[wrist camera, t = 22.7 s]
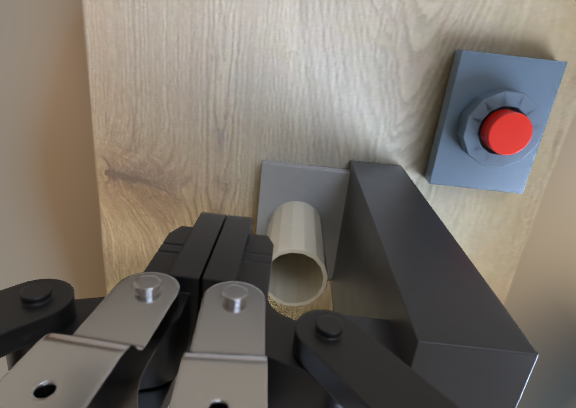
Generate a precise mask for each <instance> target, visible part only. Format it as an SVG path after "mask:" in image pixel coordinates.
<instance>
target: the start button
mask: <svg viewBox="0 0 576 408" xmlns="http://www.w3.org/2000/svg"><path fill="white" fill-rule="evenodd" d="M532 133H533V127H532V123H531V121H530V120H529V118H528V117H527V116H525V115H524V114H521V113H519V112H516V111H513V110H510V109H501V110H498V111H495V112H494V113H492V114H491V115H489V116H488V117H487V118H486V119H485V121H484V122H483V124H482V127H481V132H480V134H481V139H482V142H483V143H484V145H485V146H486V147H488V148H489V149H491V150H493V151H494V152H496V153H498V154H500V155H512V154H515V153H517V152H519V151H521V150H522V149H524V148H525V147H526V146H527V144H528V143H529V141H530V140H531V137H532Z"/></svg>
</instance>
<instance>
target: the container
mask: <svg viewBox="0 0 576 408" xmlns="http://www.w3.org/2000/svg"><path fill="white" fill-rule="evenodd" d="M267 236H268V237H269V238H270V240H271V241H272V243H273V244H274V248H273V257H272V266H271V276H270V285H269V293H268V296H269V297H270V298H271V299H272V300H273V301H275V302H278V303H280V304H282V305H284V306H293V307H298V306H303V305H307V304H310V303H312V302H313V301H315V300H316V299H318V298H319V297H320V296H321V294H322V293H323V292H324V290H325V289H326V286H327V279H328V272H327V263H326V253H325V243H324V233H323V225H322V220H321V217H320V215H319V213H318V212H317V210H316V209H315V208H314V207H312V206H311V205H309V204H307V203H305V202H301V201H290V202H286V203H284V204H282V205H280V206H279V207H278V208H277V209H276V210H275V211H274V212H273V214H272V216H271V219H270V222H269V227H268V233H267Z"/></svg>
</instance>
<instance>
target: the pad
mask: <svg viewBox="0 0 576 408" xmlns="http://www.w3.org/2000/svg"><path fill="white" fill-rule="evenodd" d="M566 65H567V62H564V61H555V60H547V59H538V58H529V57H520V56H512V55H503V54H494V53H485V52H477V51H468V50H459V49H456V51H455V55H454V59H453V63H452V67H451V71H450V75H449V80H448V84H447V88H446V92H445V96H444V100H443V104H442V108H441V113H440V117H439V121H438V125H437V129H436V133H435V137H434V141H433V146H432V150H431V154H430V158H429V162H428V166H427V170H426V174H425V179H426V180H427V181H428V182H429V183H430V184H439V185H448V186H457V187H466V188H475V189H484V190H493V191H502V192H511V193H520V194H522V193H523V191H524V188H525V185H526V182H527V179H528V176H529V173H530V170H531V167H532V165H533V162H534V159H535V156H536V153H537V150H538V147H539V144H540V141H541V138H542V135H543V132H544V129H545V126H546V124H547V121H548V118H549V115H550V112H551V109H552V106H553V103H554V100H555V97H556V94H557V91H558V88H559V85H560V83H561V80H562V77H563V74H564V71H565V68H566ZM501 109H510V110H513V111H516V112H519V113H521V114H524V115H525V116H527V117H528V118H529V120H530V121H531V123H532V127H533V133H532V137H531V140H530V141H529V143H528V144H527V146H526V147H525V148H524V149H522V150H521V151H519V152H517V153H515V154H512V155H500V154H498V153H496V152H494V151H493V150H491V149H489V148H488V147H486V146H485V145H484V143H483V142H482V139H481V134H480V132H481V127H482V124H483V122H484V121H485V119H486V118H487V117H488V116H489V115H491V114H492V113H494V112H495V111H498V110H501Z"/></svg>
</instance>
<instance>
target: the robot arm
mask: <svg viewBox="0 0 576 408" xmlns="http://www.w3.org/2000/svg"><path fill="white" fill-rule="evenodd" d="M252 225H253V218H250V217H241V216H232V215H228V216H227V215H223V214H214V213H205V212H202V213H201V214H200V216H199V218H198V220H197V221H196V223H195V225H194V227H186V226H181V227H179V228H178V229H176V230H174V231H172V232H171V233H169V235H168V236H167V238H166V239H165V241H164V242H163V244H162V245H161V247H160V248H159V250H158V252H157V253H156V254H155V256H154V257H153V259H152V260H151V262H150V263H149V265H148V266H147V268H146V269H145V271H144V272H143V273H137V274H134V275H131V276H128V277H126V278H124V279H123V280H121V281H120V282H119V283H118V284H117V285H116V286H115V287H114V288H113V289H112V291H111V292H110V293H109V294H108V295H107V296H106V297H98V298H88V299H76V300H75V296H74V289H73V287H72V286H71V285H70V284H69V283H67V282H65V281H62V280H57V279H39V280H33V281H28V282H25V283H21V284H18V285H15V286H12V287H10V288H7V289H4V290H0V358H1V357H3V356H5V355H6V359H7V364H8V370H9V372H8V373H7V374H6V375H5V376H4V377H3V378H2V379H1V380H0V408H168V406H169V408H460V407H459V406H457V405H456V404H455V403H454V402H452V401H451V400H450V399H449V398H448V397H446V396H445V395H444V394H443V393H441V392H440V391H439V390H438V389H436V388H435V387H434V386H433V385H432V384H430V383H429V382H428V381H427V380H425V379H424V378H423V377H422V376H420V375H419V374H418V373H417V372H415V371H414V370H413V369H412V368H411V367H409V366H408V365H407V364H406V363H404V362H403V361H402V360H401V359H399V358H398V357H397V356H396V355H395V354H393V353H392V352H391V351H390V350H388V349H387V348H386V347H385V346H383V345H382V344H381V343H380V342H379V341H377V340H376V339H375V338H374V337H372V336H371V335H370V334H369V333H367V332H366V331H365V330H364V329H363V328H361V327H360V326H359V325H358V324H356V323H355V322H354V321H353V320H351V319H350V318H348V317H347V316H345V315H343V314H340V313H338V312H334V311H329V310H314V311H310V312H307V313H305V314H303V315H302V316H300V317H299V319H298V320H297V321H296V320H293V319H290V318H288V317H285V316H283V315H281V314H280V313H278V312H277V311H275V310H274V309H273V308H272V307H271V305H270V304H269V302H268V293H269V285H270V276H271V266H272V257H273V248H274V244H273V243H272V241H271V240H270V238H269V237H268V236H267V235H258V234H252ZM169 404H170V405H169Z"/></svg>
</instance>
